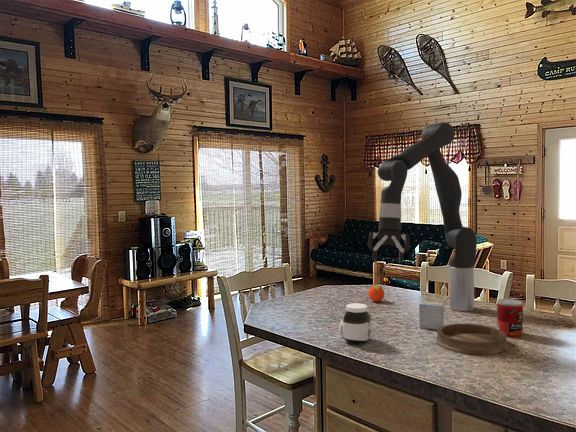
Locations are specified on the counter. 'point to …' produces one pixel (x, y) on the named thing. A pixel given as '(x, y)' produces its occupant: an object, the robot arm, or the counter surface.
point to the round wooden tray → (472, 339)
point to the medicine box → (431, 315)
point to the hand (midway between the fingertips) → (387, 262)
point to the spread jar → (356, 324)
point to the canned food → (510, 317)
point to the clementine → (376, 293)
